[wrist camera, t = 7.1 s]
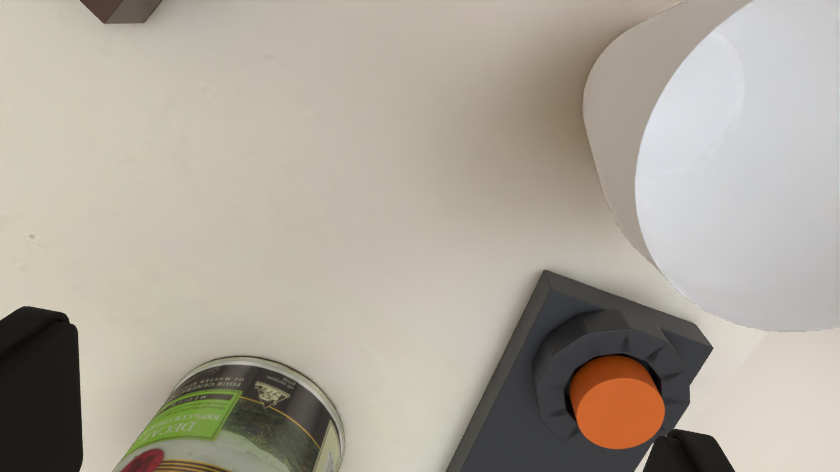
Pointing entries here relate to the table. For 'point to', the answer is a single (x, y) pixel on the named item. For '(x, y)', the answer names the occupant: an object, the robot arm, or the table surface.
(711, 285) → the cup
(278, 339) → the table surface
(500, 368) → the button
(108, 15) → the base
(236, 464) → the coffee can
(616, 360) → the button
